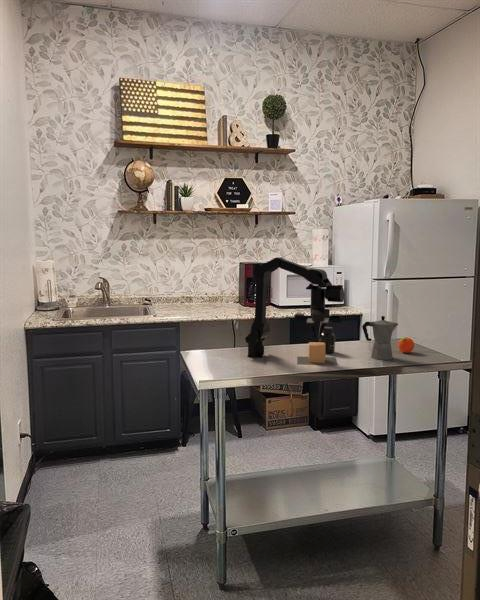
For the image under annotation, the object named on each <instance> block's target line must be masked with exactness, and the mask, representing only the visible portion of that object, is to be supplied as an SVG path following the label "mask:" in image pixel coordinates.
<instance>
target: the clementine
mask: <svg viewBox="0 0 480 600" xmlns="http://www.w3.org/2000/svg"><path fill="white" fill-rule="evenodd" d="M397 347H398V349H399V350H400V352H402V353H405V354H407V353H408V354H409V353H411V352H412V351H413V350H414V349H415V342H414V340H413V339H412V338H410V337H407V336H406V337H402V338H400V339H399V341H398V343H397Z"/></svg>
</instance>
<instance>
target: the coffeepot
mask: <svg viewBox="0 0 480 600" xmlns="http://www.w3.org/2000/svg"><path fill="white" fill-rule="evenodd" d="M385 318H386V316H384V315H382V316H381V320H375V321H365V322H364V323H363V324H362V326H361V327H362V331H363V335H364V337H365V340H366V341H368V342H370V341H372V338H369V333H368V328H367V327H371V328H372V335H373V339H374V342H373V346H372V351H371V356H370V358H372V359H374V360H381V361H388V360H392V359H393V351H392V344H391V343H392V342H391V341H392V335H393V333H394V331H395V329H396V328H397V326H399V323H397V322H394V321H389V320H385Z"/></svg>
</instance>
